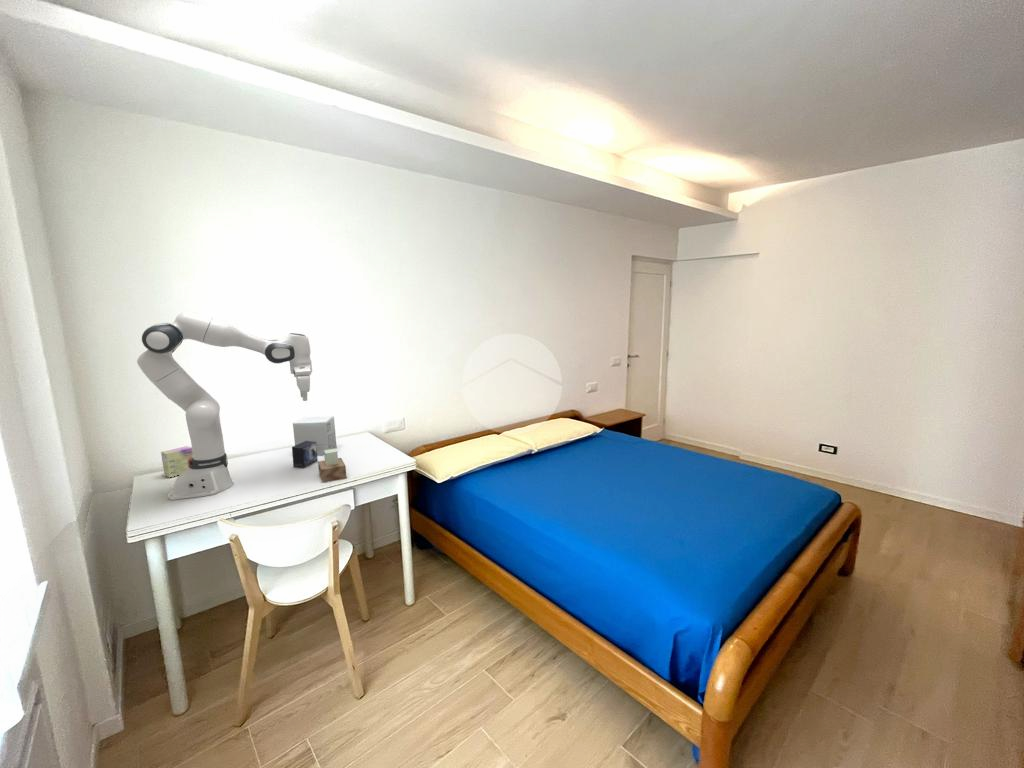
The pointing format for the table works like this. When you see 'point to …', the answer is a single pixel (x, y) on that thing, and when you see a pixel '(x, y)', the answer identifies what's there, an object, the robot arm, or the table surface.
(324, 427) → the supplement box
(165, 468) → the box
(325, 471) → the walnut block
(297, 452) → the small box
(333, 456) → the sage block
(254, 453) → the table surface
